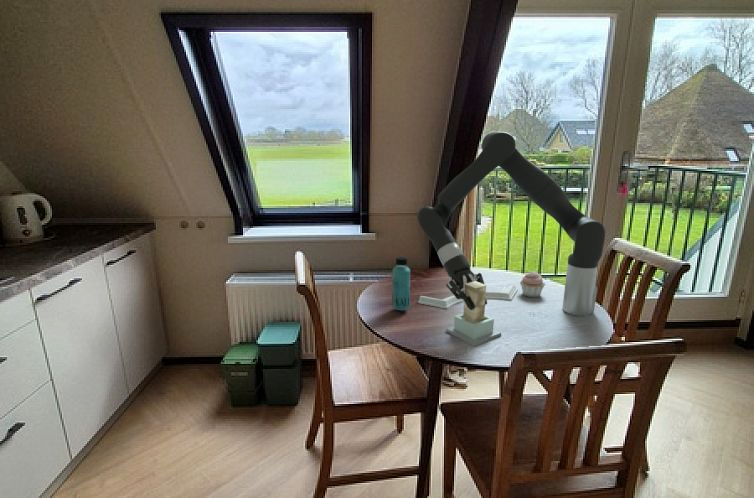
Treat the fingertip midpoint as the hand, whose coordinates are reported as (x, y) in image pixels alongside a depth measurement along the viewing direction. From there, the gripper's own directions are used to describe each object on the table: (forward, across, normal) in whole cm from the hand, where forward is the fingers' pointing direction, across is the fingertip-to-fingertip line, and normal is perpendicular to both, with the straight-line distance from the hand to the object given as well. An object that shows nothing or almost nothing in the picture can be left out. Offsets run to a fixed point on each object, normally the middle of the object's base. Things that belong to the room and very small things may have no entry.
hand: (479, 306), depth 126 cm
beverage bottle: (-13, -8, +28) cm, 32 cm away
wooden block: (+2, 0, +5) cm, 6 cm away
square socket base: (+6, 0, +8) cm, 10 cm away
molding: (-10, +21, +25) cm, 34 cm away
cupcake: (-1, +42, +15) cm, 45 cm away
